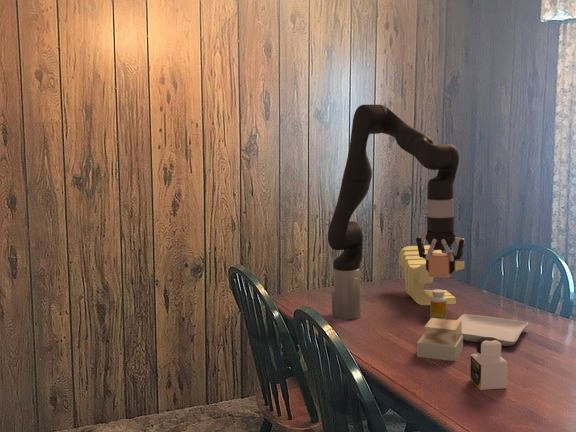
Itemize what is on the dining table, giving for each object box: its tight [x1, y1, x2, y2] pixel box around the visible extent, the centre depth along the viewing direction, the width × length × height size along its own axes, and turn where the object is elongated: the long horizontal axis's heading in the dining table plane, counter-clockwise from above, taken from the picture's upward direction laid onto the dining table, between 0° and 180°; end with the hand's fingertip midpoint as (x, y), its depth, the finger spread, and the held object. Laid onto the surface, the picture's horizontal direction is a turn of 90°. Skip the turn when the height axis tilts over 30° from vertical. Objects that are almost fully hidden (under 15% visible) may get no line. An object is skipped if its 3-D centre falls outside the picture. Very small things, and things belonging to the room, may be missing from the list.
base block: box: [416, 333, 464, 362], centre depth 194 cm, size 11×11×4 cm
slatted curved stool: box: [398, 244, 465, 306], centre depth 248 cm, size 30×16×18 cm, turn 4°
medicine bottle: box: [470, 337, 509, 391], centre depth 170 cm, size 7×7×12 cm
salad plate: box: [456, 313, 529, 347], centre depth 208 cm, size 21×21×3 cm
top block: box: [423, 318, 462, 345], centre depth 193 cm, size 9×9×4 cm
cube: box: [429, 252, 453, 279], centre depth 191 cm, size 6×6×6 cm
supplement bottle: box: [429, 288, 448, 319], centre depth 226 cm, size 5×5×10 cm
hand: (440, 272), depth 191 cm, fingers closed on cube, 5 cm apart
